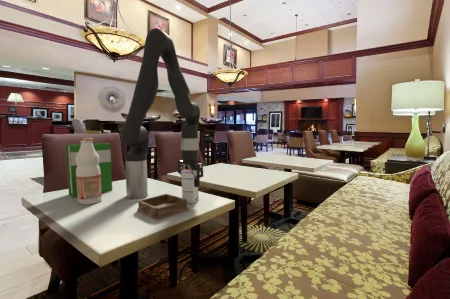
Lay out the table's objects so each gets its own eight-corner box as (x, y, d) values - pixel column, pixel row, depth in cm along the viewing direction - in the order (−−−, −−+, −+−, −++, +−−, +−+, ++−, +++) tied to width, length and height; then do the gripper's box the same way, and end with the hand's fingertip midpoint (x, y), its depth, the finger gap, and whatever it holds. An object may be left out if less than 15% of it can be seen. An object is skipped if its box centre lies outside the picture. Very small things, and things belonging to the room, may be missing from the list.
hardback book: (73, 197, 115) (69, 146, 113) (68, 194, 121) (65, 144, 118) (112, 190, 128) (110, 143, 125) (106, 187, 133) (104, 142, 130)
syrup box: (194, 203, 108) (194, 170, 106) (181, 202, 109) (181, 169, 107) (198, 199, 113) (198, 168, 112) (186, 198, 114) (185, 167, 113)
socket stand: (137, 210, 99) (137, 200, 98) (167, 202, 109) (167, 193, 108) (157, 220, 89) (157, 209, 89) (188, 209, 100) (188, 200, 99)
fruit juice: (72, 204, 106) (68, 138, 103) (89, 197, 115) (85, 137, 112) (91, 206, 104) (87, 138, 101) (106, 199, 113) (103, 137, 110)
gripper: (172, 148, 110) (173, 184, 112) (194, 150, 101) (194, 189, 103) (185, 146, 116) (186, 181, 118) (207, 149, 106) (207, 186, 108)
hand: (190, 185), depth 110 cm, fingers open, 8 cm apart
